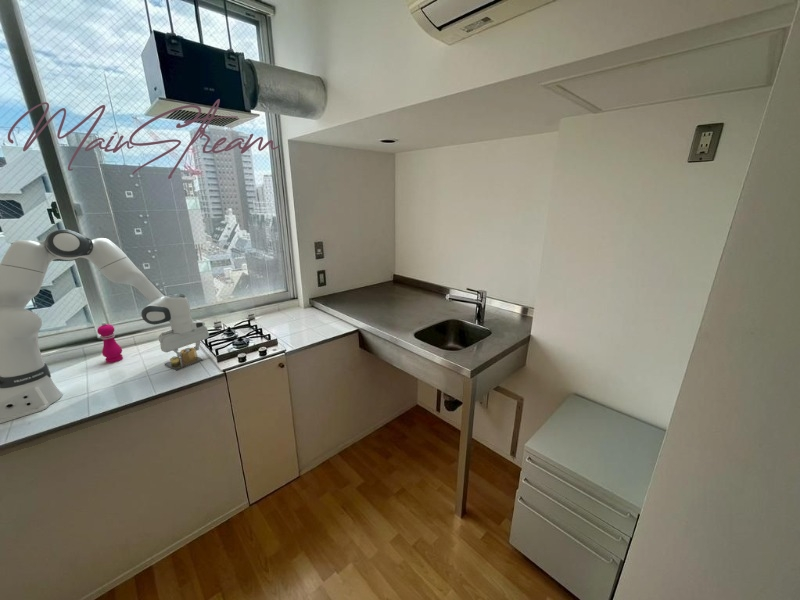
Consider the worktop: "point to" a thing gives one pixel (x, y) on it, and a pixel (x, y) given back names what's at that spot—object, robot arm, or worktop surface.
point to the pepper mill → (109, 344)
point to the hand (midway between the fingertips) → (188, 353)
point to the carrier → (181, 362)
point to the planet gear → (188, 355)
